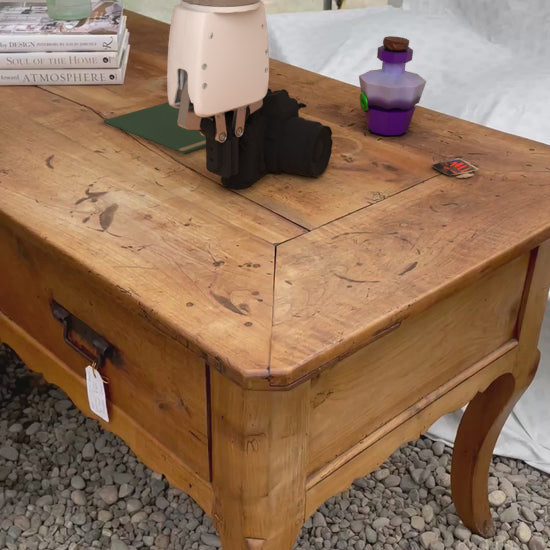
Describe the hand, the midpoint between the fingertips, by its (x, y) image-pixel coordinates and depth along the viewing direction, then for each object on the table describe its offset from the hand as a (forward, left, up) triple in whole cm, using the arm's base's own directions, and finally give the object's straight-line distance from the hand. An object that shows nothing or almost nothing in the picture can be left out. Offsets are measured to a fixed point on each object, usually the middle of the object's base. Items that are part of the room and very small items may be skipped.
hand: (222, 172), depth 81 cm
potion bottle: (+31, 0, -3) cm, 31 cm away
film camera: (+10, +1, -3) cm, 10 cm away
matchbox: (+25, -14, -3) cm, 28 cm away
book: (+15, +20, -3) cm, 25 cm away
